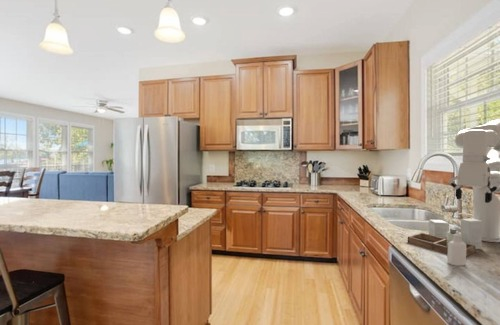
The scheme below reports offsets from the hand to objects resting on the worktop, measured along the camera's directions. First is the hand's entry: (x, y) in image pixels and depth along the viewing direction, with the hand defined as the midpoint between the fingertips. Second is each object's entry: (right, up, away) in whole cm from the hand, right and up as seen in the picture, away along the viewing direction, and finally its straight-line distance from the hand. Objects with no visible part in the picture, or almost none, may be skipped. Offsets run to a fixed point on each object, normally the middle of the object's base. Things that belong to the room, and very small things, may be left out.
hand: (472, 200), depth 109 cm
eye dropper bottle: (-18, -21, -15) cm, 32 cm away
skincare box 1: (-2, -20, +17) cm, 26 cm away
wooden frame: (-12, -20, +2) cm, 24 cm away
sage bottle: (-10, -20, -2) cm, 23 cm away
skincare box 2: (0, -20, +2) cm, 21 cm away
